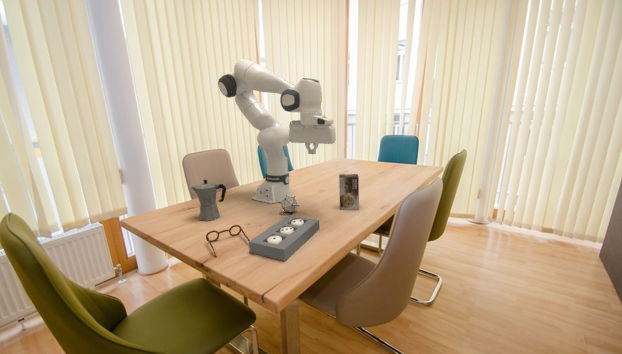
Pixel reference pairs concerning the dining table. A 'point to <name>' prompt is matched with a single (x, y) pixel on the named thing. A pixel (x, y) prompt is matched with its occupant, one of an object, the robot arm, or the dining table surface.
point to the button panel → (284, 238)
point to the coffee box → (349, 191)
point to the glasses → (224, 231)
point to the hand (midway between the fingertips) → (311, 154)
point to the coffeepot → (209, 200)
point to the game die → (289, 204)
